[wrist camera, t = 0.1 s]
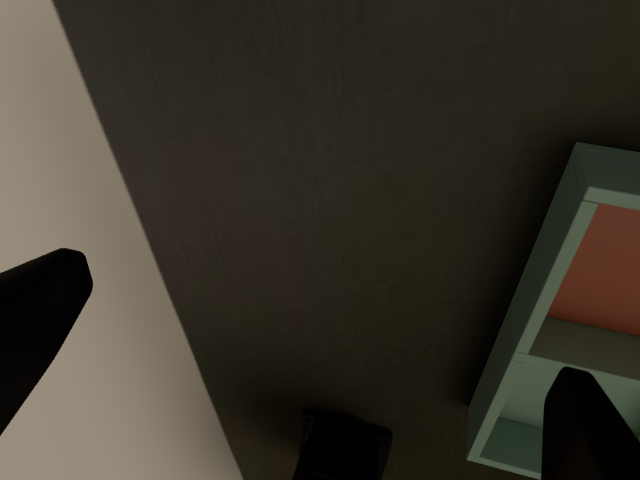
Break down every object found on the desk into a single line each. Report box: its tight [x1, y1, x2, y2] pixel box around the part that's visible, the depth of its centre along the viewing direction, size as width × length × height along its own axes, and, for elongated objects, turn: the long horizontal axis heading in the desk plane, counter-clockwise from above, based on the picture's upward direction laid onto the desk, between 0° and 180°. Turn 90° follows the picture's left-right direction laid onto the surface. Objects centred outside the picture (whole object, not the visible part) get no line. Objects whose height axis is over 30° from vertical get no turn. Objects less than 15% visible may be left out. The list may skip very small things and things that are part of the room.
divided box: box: [466, 142, 640, 480], centre depth 24 cm, size 18×10×4 cm, turn 178°
